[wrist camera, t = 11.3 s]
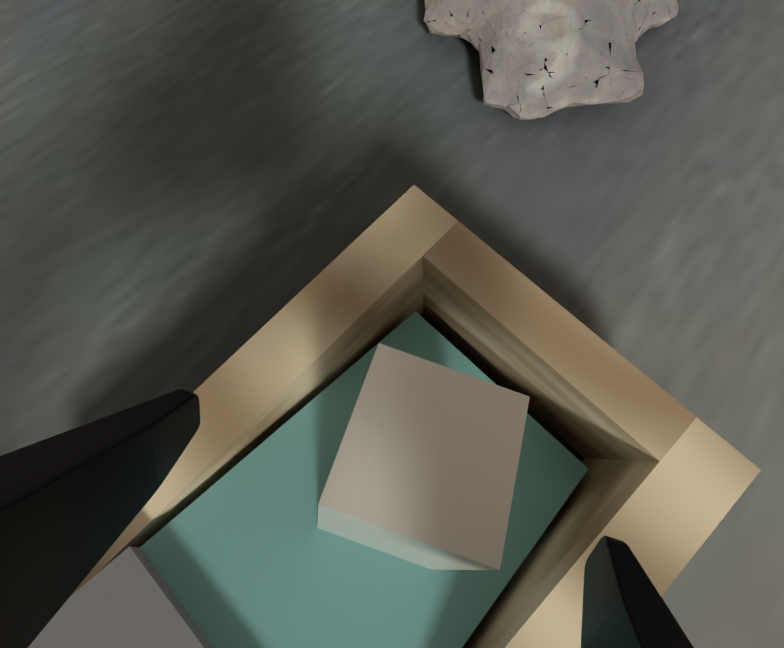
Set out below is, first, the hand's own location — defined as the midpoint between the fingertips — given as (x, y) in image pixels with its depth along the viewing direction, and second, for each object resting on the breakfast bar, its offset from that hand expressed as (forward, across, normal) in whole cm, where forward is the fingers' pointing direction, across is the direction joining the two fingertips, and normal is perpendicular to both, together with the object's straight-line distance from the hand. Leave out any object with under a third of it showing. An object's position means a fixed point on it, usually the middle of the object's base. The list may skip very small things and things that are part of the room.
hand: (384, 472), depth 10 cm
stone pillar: (+5, 0, +7) cm, 9 cm away
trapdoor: (+4, +1, +9) cm, 10 cm away
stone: (+33, +1, -13) cm, 36 cm away
